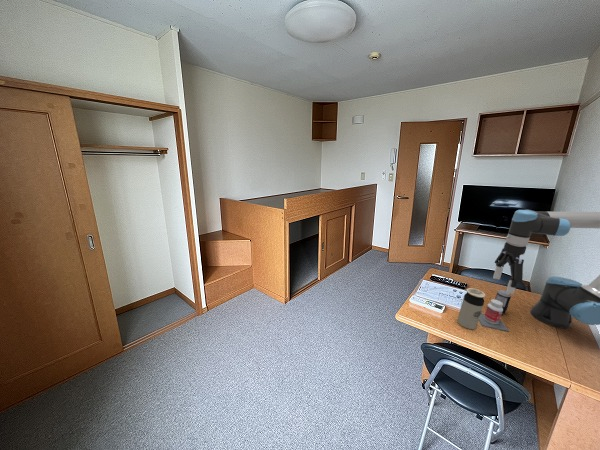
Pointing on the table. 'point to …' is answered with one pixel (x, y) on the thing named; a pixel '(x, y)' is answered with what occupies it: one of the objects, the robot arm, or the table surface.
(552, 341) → the table surface
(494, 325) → the coaster
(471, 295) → the travel mug
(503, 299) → the beverage can
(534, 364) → the table surface
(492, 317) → the pill bottle
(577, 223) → the robot arm
